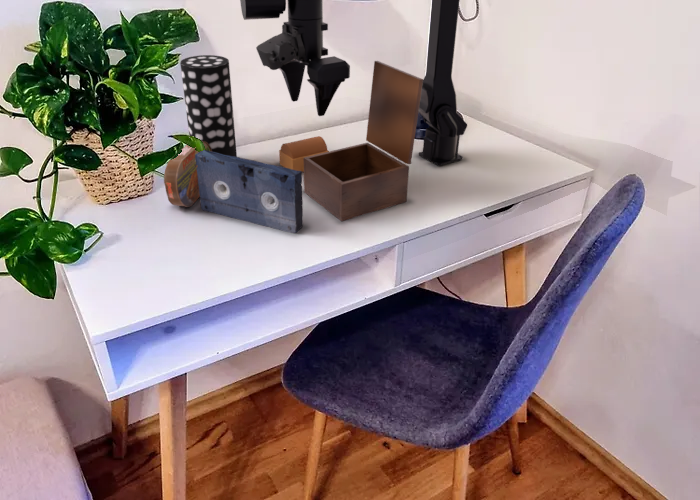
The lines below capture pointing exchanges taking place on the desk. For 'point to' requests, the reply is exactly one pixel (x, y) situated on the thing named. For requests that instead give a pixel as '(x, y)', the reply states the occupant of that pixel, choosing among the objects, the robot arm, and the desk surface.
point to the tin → (183, 177)
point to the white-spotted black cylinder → (209, 101)
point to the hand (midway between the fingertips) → (307, 108)
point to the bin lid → (394, 110)
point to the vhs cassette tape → (250, 190)
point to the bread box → (355, 180)
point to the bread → (300, 152)
